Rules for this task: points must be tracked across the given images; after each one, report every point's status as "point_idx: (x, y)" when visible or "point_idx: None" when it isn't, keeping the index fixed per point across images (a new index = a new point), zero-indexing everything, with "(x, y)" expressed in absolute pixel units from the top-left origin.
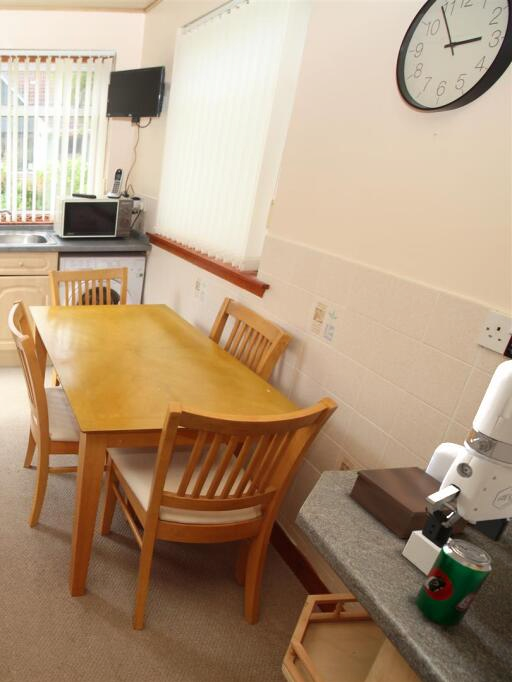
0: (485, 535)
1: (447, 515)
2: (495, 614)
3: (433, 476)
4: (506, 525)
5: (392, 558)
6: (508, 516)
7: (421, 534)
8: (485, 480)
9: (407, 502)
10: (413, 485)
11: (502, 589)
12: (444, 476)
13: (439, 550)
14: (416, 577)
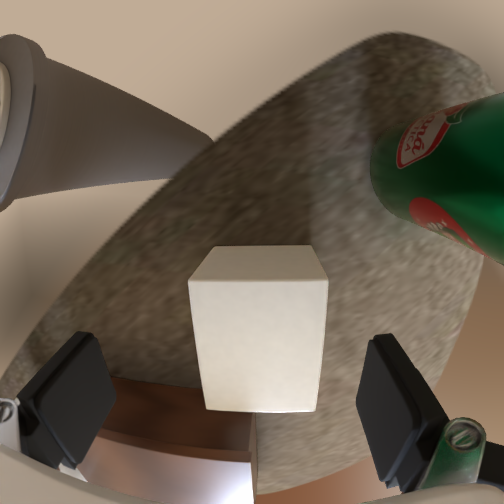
0: (104, 363)
1: (121, 425)
2: (234, 144)
3: (79, 474)
4: (30, 383)
5: (347, 341)
6: (19, 474)
7: (299, 400)
8: None
9: (229, 481)
10: (152, 493)
11: (127, 221)
12: (66, 473)
13: (315, 338)
14: (347, 281)
